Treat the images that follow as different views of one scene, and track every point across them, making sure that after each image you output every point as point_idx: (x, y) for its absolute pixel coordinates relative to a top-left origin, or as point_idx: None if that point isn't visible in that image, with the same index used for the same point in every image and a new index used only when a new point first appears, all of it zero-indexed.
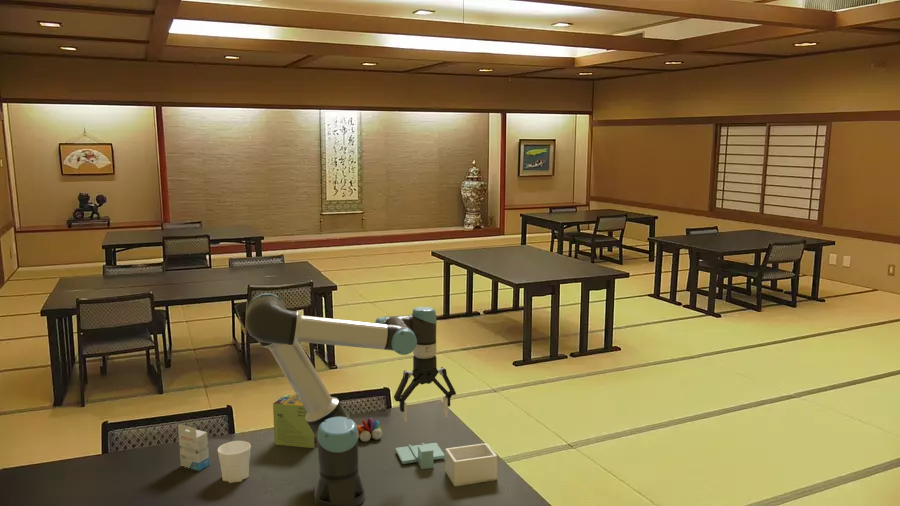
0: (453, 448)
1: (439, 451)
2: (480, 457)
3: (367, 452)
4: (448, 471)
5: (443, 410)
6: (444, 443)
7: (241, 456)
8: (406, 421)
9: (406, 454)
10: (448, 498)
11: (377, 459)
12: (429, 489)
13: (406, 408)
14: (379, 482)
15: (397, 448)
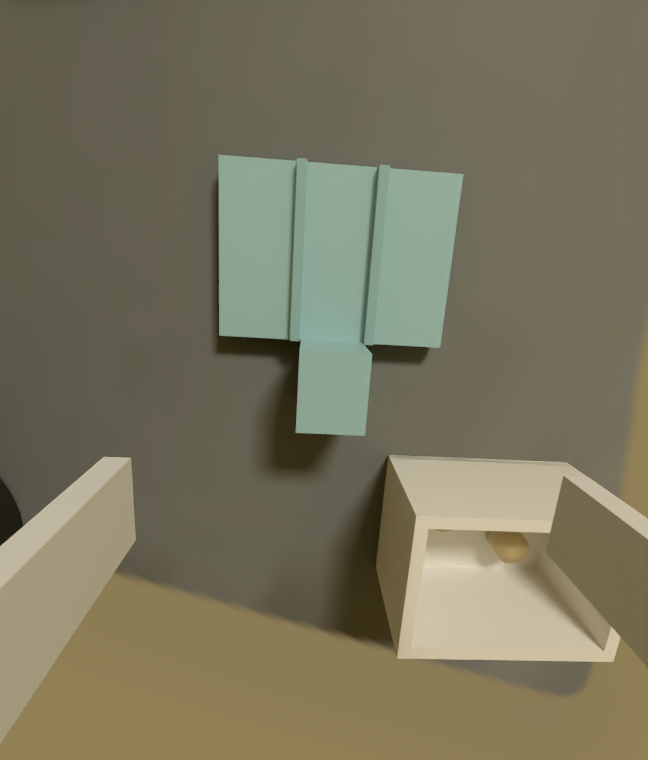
0: (458, 529)
1: (432, 296)
2: (533, 653)
3: (66, 97)
4: (388, 506)
5: (597, 517)
6: (511, 152)
7: None
8: (127, 542)
9: (257, 266)
10: (322, 630)
11: (113, 214)
12: (278, 559)
13: (26, 695)
14: (93, 448)
15: (227, 168)
